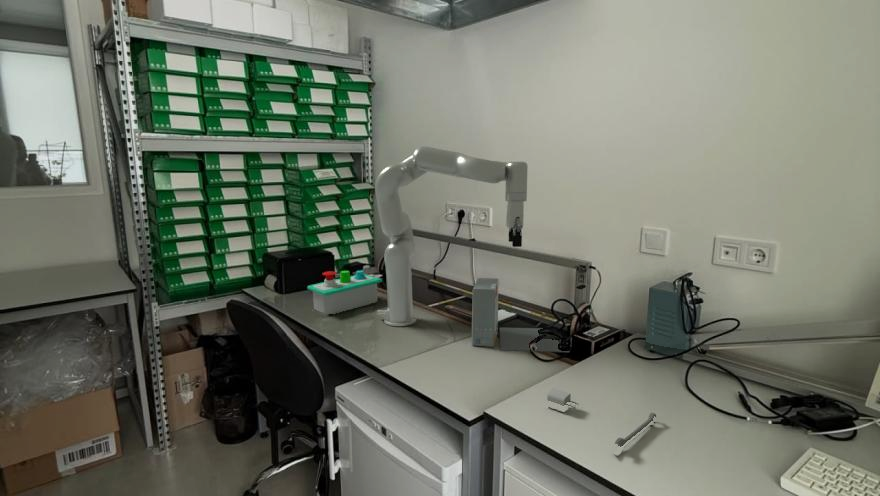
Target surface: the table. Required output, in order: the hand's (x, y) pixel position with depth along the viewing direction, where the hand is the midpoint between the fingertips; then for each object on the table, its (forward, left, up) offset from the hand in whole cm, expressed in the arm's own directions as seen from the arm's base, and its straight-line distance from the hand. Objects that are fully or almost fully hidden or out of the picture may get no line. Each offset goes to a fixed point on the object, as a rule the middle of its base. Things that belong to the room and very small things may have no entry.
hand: (514, 244), depth 169 cm
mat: (+6, -14, -31) cm, 34 cm away
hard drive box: (-10, -14, -31) cm, 36 cm away
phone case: (-6, +6, -32) cm, 33 cm away
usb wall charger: (+10, -59, -31) cm, 68 cm away
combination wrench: (+24, -70, -31) cm, 80 cm away
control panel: (-70, +18, -31) cm, 79 cm away
